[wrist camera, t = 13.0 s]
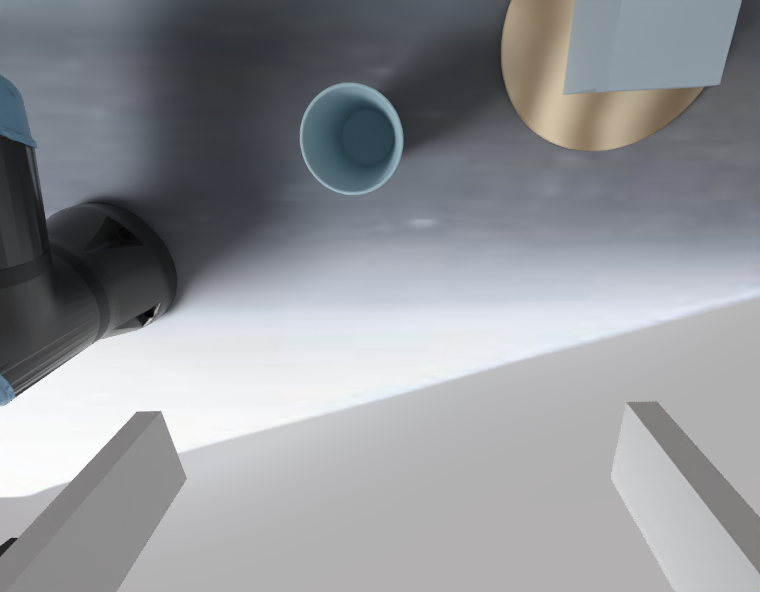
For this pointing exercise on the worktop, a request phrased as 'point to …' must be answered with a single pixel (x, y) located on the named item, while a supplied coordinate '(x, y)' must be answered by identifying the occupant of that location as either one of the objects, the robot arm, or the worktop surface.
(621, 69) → the grey slotted block
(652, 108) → the wooden disc
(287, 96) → the worktop surface
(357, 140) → the cup
